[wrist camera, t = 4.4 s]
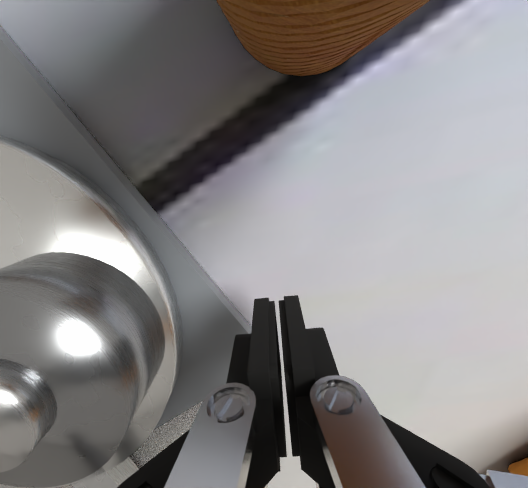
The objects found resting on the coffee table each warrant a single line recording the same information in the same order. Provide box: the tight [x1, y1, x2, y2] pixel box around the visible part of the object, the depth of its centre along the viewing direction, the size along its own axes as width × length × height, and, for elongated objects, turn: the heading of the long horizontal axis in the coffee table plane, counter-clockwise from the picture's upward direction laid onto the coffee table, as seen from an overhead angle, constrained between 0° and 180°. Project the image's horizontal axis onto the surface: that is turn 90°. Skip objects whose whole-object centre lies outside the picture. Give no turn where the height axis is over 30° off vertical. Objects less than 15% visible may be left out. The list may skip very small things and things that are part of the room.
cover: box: [0, 252, 165, 488], centre depth 10 cm, size 8×8×4 cm
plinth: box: [0, 26, 252, 429], centre depth 14 cm, size 19×19×1 cm
